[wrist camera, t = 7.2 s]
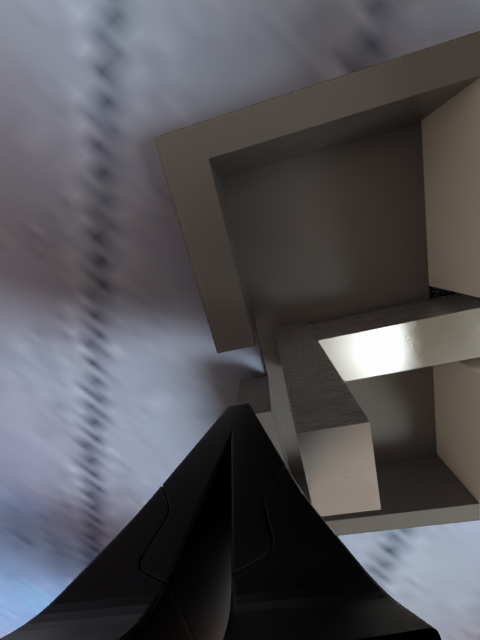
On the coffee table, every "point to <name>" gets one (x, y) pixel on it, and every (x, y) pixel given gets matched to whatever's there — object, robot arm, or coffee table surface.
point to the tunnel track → (349, 254)
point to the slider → (355, 363)
